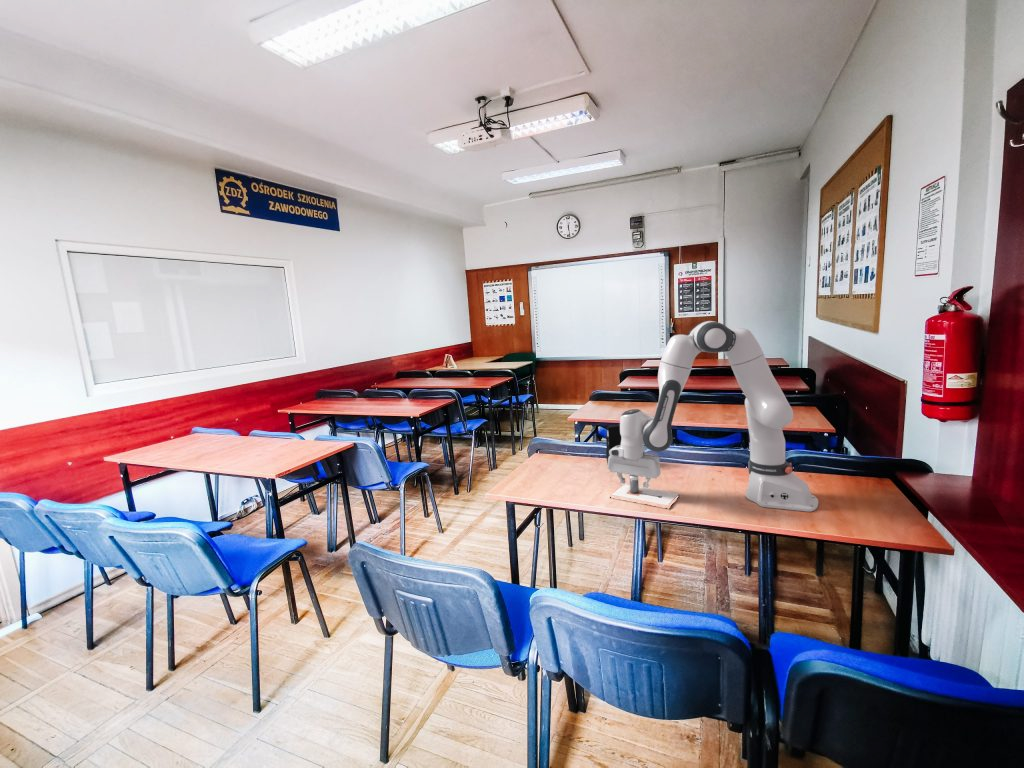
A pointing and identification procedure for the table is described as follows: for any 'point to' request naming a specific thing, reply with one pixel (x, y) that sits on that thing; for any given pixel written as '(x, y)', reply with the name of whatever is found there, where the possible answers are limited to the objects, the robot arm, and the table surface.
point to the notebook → (647, 495)
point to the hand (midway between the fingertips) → (634, 485)
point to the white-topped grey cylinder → (634, 484)
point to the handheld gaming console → (612, 438)
